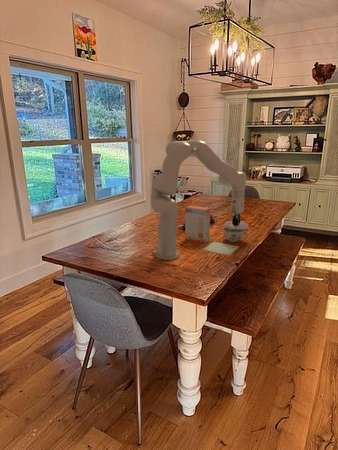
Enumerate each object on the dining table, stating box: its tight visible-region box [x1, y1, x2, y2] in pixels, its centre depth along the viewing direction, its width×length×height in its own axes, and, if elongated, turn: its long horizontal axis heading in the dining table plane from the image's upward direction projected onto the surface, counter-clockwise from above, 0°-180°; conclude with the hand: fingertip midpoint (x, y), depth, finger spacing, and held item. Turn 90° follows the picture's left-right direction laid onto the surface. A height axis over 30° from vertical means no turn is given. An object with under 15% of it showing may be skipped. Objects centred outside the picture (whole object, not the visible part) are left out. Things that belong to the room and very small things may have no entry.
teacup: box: [222, 226, 249, 243], centre depth 190 cm, size 15×12×8 cm
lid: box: [223, 216, 249, 230], centre depth 188 cm, size 14×14×6 cm
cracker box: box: [184, 204, 211, 244], centre depth 190 cm, size 14×6×21 cm, turn 54°
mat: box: [202, 241, 240, 256], centre depth 180 cm, size 16×15×1 cm
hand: (236, 223), depth 188 cm, fingers closed on lid, 3 cm apart
